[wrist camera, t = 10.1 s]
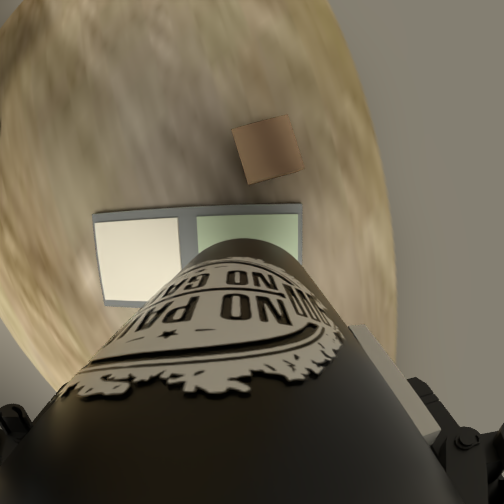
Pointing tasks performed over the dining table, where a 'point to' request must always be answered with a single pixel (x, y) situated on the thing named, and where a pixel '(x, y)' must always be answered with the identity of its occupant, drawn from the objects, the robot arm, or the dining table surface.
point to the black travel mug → (228, 403)
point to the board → (179, 242)
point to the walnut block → (268, 149)
